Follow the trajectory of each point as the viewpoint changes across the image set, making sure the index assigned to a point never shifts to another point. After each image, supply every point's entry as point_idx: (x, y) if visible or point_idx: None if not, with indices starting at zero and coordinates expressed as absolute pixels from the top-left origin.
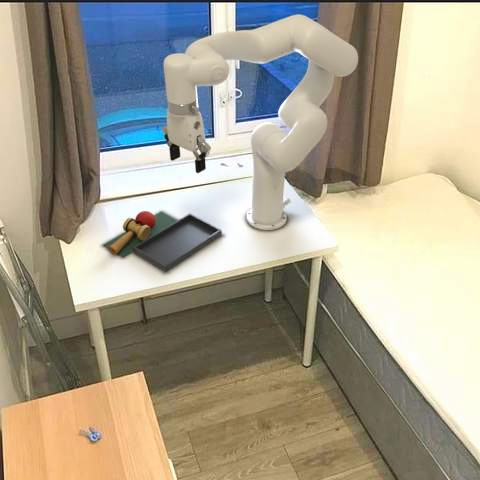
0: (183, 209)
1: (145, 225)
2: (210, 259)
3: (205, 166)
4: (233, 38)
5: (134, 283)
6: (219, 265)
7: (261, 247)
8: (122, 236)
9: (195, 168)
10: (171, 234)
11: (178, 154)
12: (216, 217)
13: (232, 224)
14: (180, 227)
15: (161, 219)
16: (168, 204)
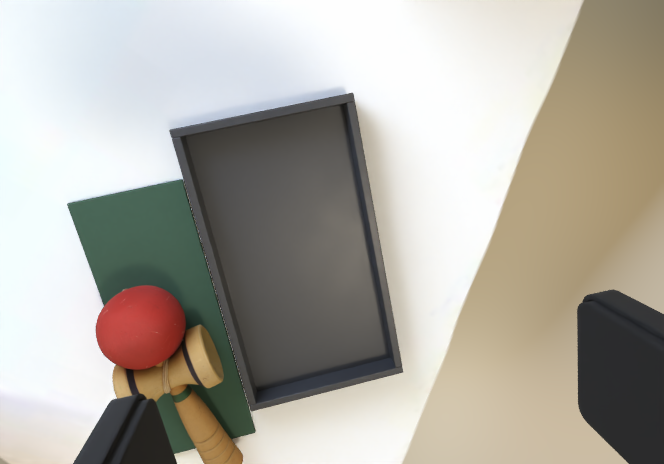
0: (96, 113)
1: (196, 361)
2: (433, 213)
3: (634, 302)
4: None
5: (381, 447)
6: (475, 207)
7: (499, 16)
8: (192, 434)
9: (619, 453)
10: (236, 251)
11: (146, 456)
12: (230, 30)
13: (312, 6)
14: (215, 200)
15: (123, 232)
16: (23, 146)
